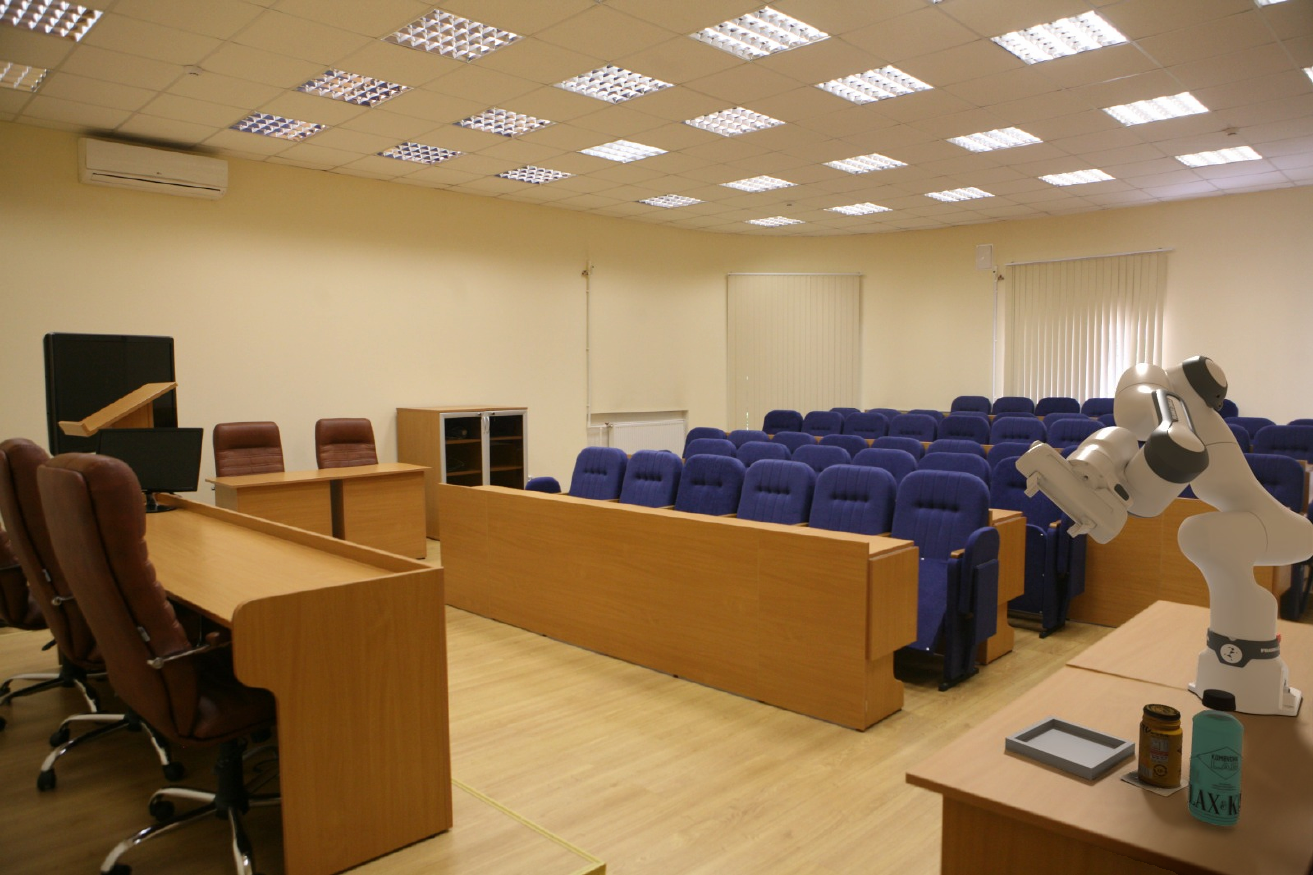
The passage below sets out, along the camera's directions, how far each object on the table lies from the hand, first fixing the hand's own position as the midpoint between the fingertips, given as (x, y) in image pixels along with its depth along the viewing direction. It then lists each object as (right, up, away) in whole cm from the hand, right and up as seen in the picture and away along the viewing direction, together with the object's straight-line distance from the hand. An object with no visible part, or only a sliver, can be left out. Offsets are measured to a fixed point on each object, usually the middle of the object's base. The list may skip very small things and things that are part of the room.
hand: (1050, 512), depth 143 cm
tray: (+5, -42, +4) cm, 43 cm away
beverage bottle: (+14, -44, -21) cm, 51 cm away
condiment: (+14, -43, -8) cm, 46 cm away
